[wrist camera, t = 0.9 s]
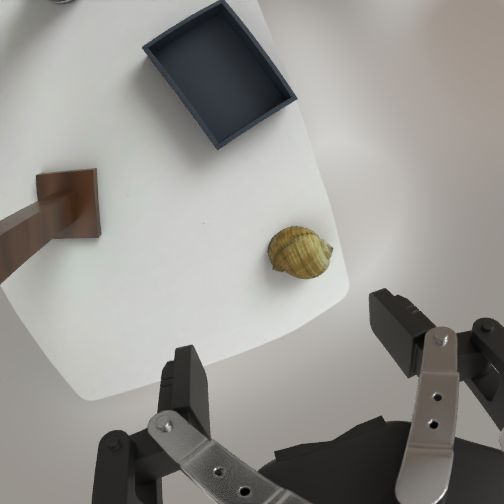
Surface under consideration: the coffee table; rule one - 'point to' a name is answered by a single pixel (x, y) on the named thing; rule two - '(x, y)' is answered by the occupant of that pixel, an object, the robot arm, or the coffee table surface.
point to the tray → (220, 72)
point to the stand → (51, 217)
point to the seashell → (299, 253)
